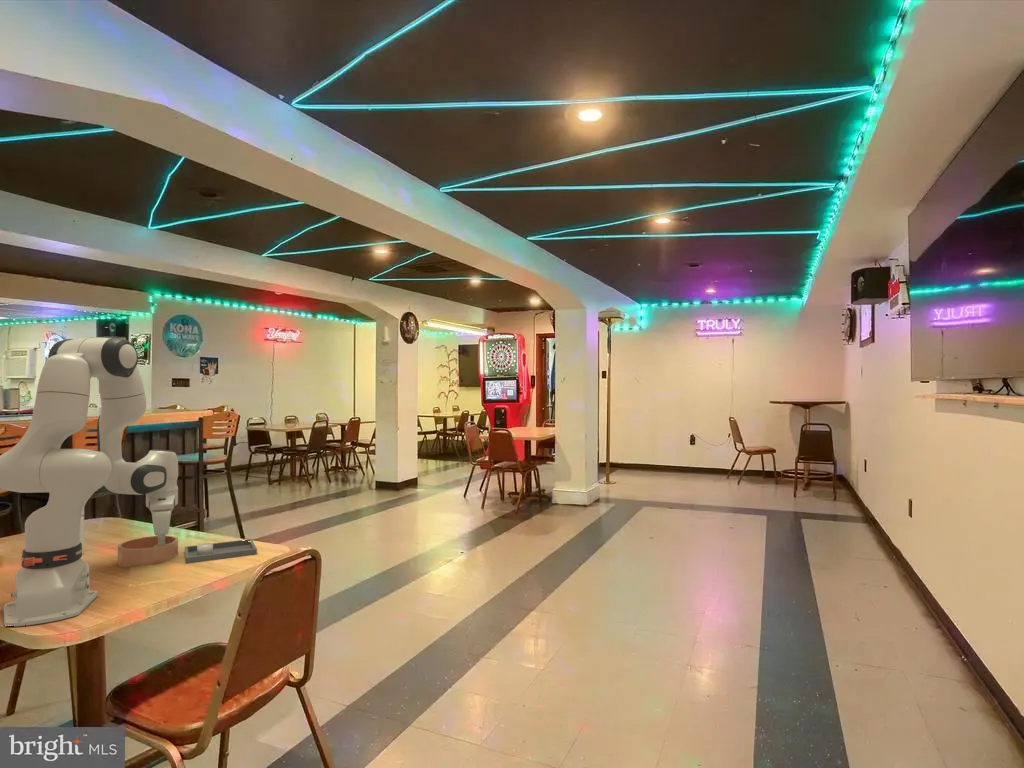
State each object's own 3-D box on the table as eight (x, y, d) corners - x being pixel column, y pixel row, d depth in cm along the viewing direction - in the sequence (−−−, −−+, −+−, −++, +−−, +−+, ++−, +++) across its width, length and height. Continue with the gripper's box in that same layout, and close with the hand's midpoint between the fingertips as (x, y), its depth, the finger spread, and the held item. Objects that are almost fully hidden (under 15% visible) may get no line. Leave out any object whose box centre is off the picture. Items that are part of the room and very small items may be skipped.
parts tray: (256, 556, 188) (256, 548, 188) (185, 566, 177) (185, 557, 177) (251, 546, 200) (251, 538, 200) (184, 554, 189) (184, 546, 189)
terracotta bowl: (178, 562, 181) (178, 545, 181) (116, 570, 172) (116, 552, 172) (177, 549, 194) (177, 533, 194) (119, 556, 186) (120, 539, 186)
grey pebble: (213, 555, 185) (213, 545, 185) (197, 557, 183) (197, 547, 183) (212, 552, 189) (212, 542, 189) (196, 554, 187) (196, 544, 187)
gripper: (151, 495, 192) (150, 537, 192) (149, 506, 175) (148, 552, 175) (173, 493, 196) (173, 534, 196) (173, 504, 178) (173, 549, 178)
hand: (161, 543), depth 185 cm, fingers open, 8 cm apart
